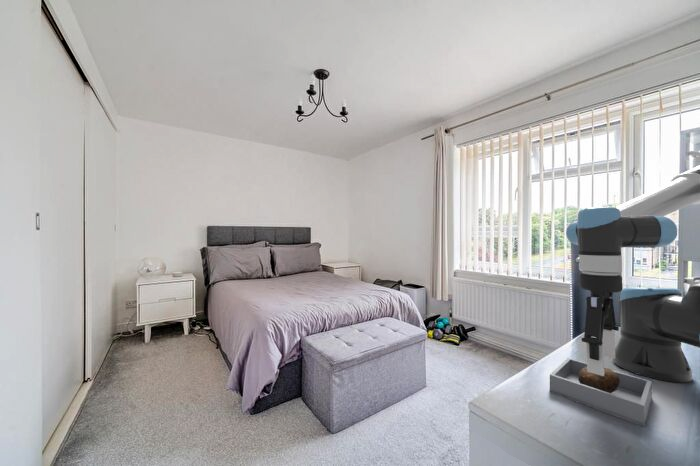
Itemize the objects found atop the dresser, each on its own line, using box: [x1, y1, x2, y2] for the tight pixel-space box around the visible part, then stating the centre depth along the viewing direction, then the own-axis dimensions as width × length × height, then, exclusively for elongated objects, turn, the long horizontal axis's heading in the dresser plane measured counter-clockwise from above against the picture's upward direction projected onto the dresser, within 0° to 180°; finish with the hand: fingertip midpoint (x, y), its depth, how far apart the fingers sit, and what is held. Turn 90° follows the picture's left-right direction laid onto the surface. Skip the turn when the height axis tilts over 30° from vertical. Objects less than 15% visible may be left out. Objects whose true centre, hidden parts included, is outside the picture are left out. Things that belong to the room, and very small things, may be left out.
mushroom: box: [578, 367, 620, 393], centre depth 64 cm, size 8×8×6 cm
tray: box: [549, 357, 653, 427], centre depth 64 cm, size 15×15×4 cm
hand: (602, 364), depth 64 cm, fingers open, 13 cm apart
